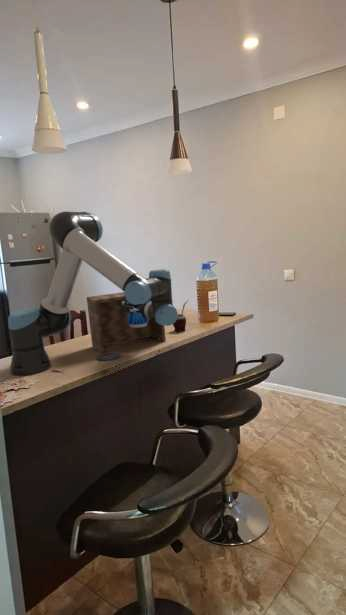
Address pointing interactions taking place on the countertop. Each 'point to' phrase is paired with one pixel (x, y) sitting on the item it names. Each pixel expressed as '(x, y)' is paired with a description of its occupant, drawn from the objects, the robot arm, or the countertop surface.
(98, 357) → the coaster
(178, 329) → the mate gourd
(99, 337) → the cubby
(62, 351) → the countertop surface
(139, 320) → the beer can
